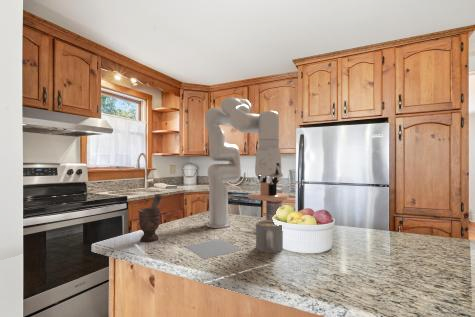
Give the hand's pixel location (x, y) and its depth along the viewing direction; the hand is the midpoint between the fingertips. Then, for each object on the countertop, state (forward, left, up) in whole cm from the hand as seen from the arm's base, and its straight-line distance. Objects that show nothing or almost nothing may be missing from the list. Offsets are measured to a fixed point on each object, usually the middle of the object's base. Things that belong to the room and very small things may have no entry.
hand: (268, 194), depth 96 cm
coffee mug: (0, 0, -21) cm, 21 cm away
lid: (0, 0, -1) cm, 1 cm away
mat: (-13, -16, -21) cm, 29 cm away
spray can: (-25, +26, -21) cm, 42 cm away
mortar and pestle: (-35, -32, -21) cm, 52 cm away
